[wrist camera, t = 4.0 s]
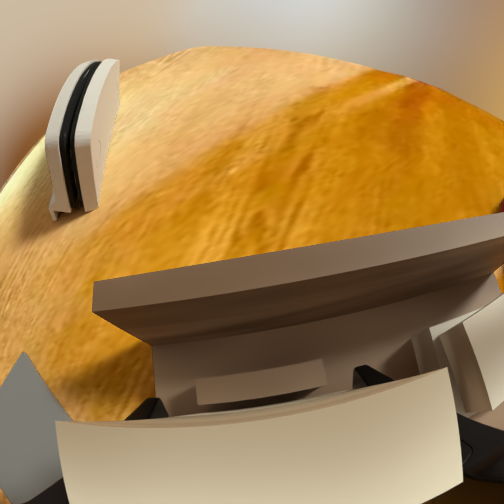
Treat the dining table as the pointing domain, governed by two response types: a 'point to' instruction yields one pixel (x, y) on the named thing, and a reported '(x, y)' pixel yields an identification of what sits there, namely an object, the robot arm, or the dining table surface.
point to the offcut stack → (468, 356)
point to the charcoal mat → (28, 433)
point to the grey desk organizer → (304, 314)
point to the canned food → (503, 207)
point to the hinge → (82, 135)
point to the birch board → (276, 451)
